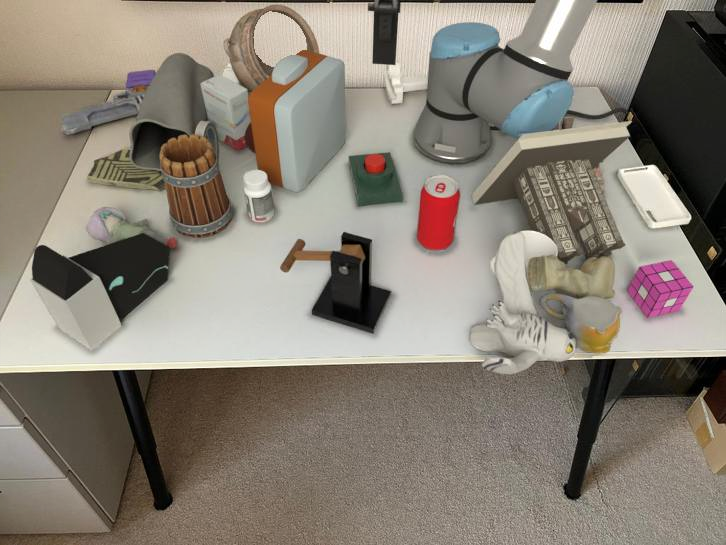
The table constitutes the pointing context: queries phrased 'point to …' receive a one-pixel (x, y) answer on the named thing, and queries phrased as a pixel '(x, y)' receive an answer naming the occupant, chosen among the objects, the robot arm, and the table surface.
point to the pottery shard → (124, 173)
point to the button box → (375, 181)
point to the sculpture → (573, 277)
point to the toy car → (230, 74)
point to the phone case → (654, 197)
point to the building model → (561, 186)
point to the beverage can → (438, 212)
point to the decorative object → (99, 285)
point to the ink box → (227, 109)
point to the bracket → (352, 289)
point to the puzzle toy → (659, 288)
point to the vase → (168, 109)
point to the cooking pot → (242, 46)
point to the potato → (249, 138)
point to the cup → (534, 248)
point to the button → (375, 163)
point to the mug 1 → (195, 183)
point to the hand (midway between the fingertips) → (387, 35)
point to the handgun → (111, 105)
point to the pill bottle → (258, 196)
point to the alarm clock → (299, 118)
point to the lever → (317, 254)
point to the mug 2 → (587, 320)
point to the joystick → (401, 83)
